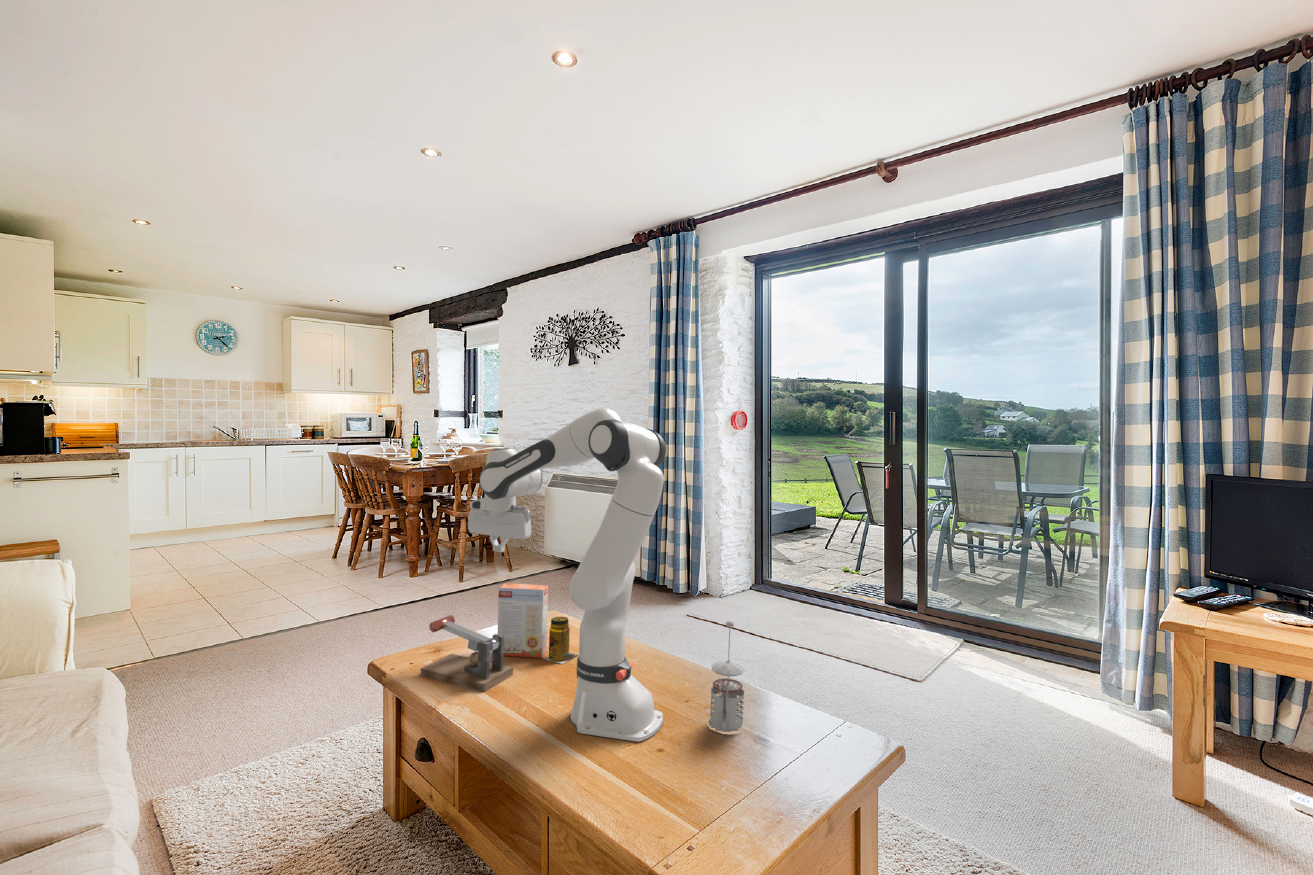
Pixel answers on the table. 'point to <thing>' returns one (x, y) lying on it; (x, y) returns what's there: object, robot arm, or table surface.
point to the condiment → (559, 641)
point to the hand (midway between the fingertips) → (498, 551)
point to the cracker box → (523, 619)
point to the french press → (727, 695)
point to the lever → (463, 633)
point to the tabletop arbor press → (472, 668)
